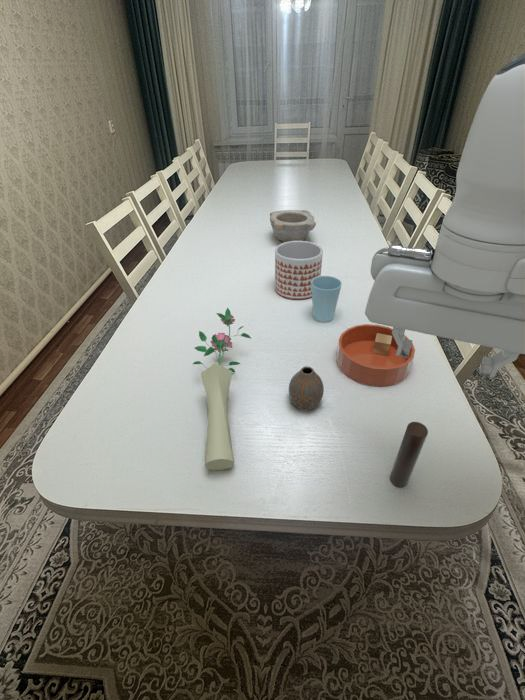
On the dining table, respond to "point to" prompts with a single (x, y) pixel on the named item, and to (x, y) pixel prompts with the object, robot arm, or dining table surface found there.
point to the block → (382, 344)
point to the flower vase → (218, 399)
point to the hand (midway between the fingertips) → (442, 363)
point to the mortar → (292, 224)
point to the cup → (325, 297)
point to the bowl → (371, 357)
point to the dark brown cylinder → (408, 453)
